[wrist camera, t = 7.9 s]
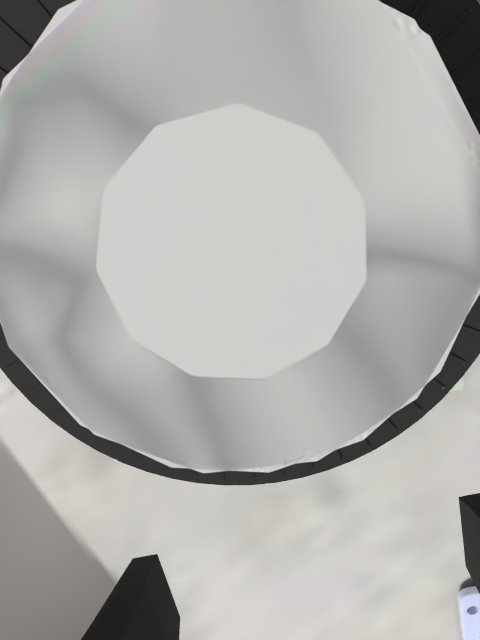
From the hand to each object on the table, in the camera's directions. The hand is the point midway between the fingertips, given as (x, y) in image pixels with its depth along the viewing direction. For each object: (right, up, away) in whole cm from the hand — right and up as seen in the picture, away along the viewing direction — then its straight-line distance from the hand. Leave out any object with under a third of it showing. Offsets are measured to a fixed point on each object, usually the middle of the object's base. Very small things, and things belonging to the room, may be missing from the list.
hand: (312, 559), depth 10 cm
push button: (-2, +9, +3) cm, 9 cm away
